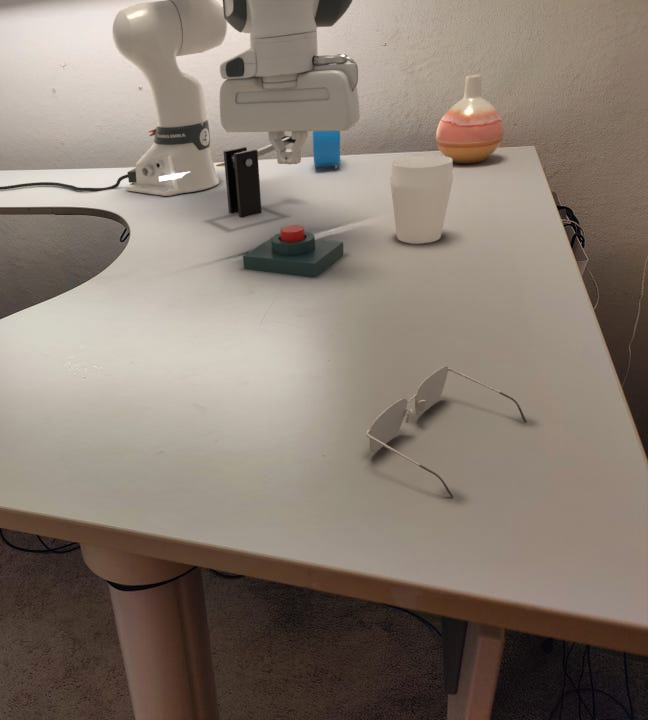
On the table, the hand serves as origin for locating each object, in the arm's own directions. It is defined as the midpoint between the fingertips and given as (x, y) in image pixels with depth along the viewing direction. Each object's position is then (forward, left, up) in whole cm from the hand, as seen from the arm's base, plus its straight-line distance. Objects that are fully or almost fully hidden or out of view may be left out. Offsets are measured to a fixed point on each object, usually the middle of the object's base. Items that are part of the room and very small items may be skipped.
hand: (289, 163), depth 96 cm
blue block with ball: (-23, +62, -15) cm, 68 cm away
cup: (+14, +16, -15) cm, 26 cm away
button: (0, 0, -11) cm, 11 cm away
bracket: (-20, +19, -15) cm, 31 cm away
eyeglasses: (+34, -37, -15) cm, 52 cm away
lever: (-17, +24, -4) cm, 30 cm away
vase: (+7, +70, -15) cm, 72 cm away
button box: (0, 0, -15) cm, 15 cm away
